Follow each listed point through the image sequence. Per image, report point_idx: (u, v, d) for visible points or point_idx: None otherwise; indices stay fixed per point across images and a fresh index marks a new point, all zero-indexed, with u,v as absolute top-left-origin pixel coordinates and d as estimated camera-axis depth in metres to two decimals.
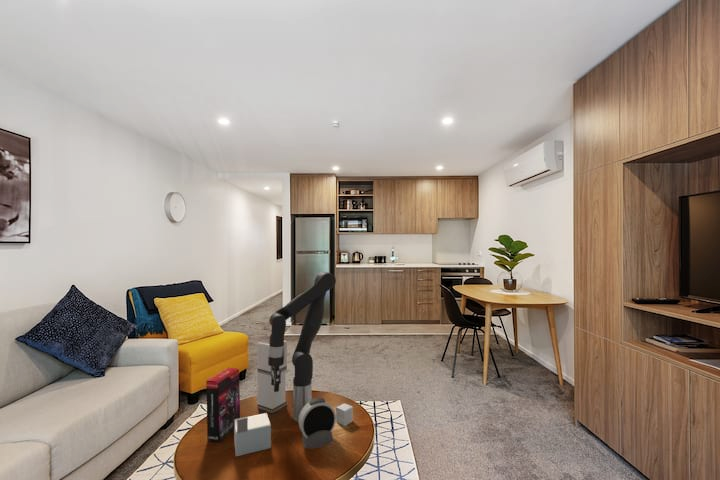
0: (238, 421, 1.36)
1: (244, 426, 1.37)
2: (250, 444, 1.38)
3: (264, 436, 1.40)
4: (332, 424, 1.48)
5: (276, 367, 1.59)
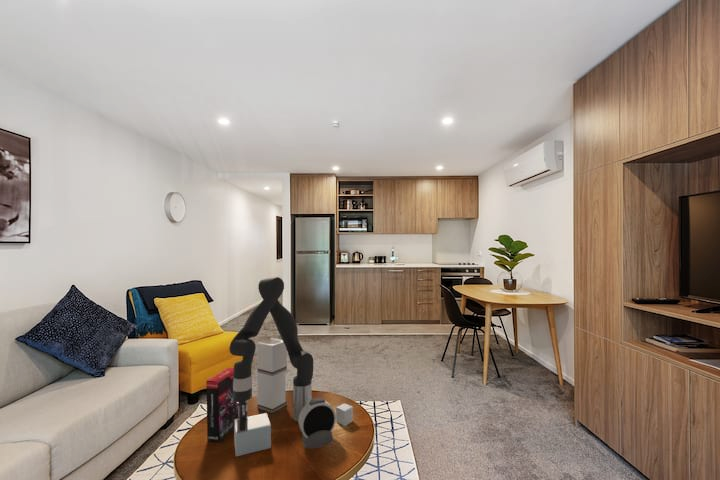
0: (238, 421, 1.36)
1: None
2: (250, 444, 1.38)
3: (264, 436, 1.40)
4: (332, 424, 1.48)
5: (242, 403, 1.34)
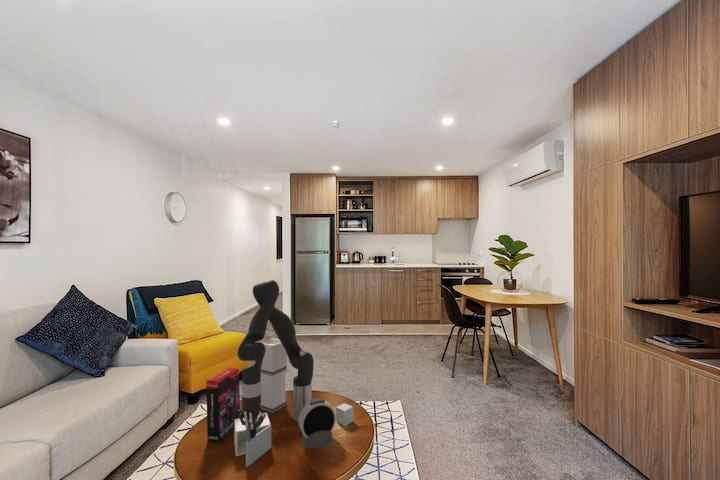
0: (249, 429, 1.30)
1: None
2: (257, 450, 1.34)
3: (267, 438, 1.39)
4: (332, 424, 1.48)
5: (258, 407, 1.30)
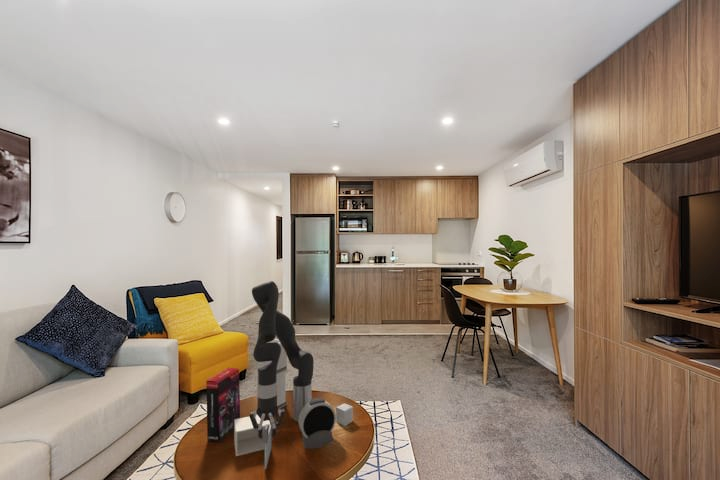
0: (267, 430, 1.29)
1: None
2: (268, 450, 1.33)
3: (270, 438, 1.39)
4: (332, 424, 1.48)
5: (276, 406, 1.31)
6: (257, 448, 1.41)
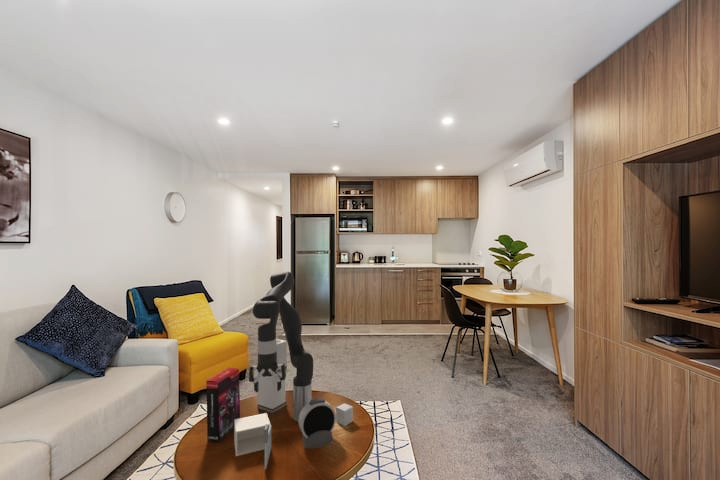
0: (267, 430, 1.29)
1: None
2: (268, 450, 1.33)
3: (270, 438, 1.39)
4: (332, 424, 1.48)
5: (276, 362, 1.33)
6: (257, 448, 1.41)
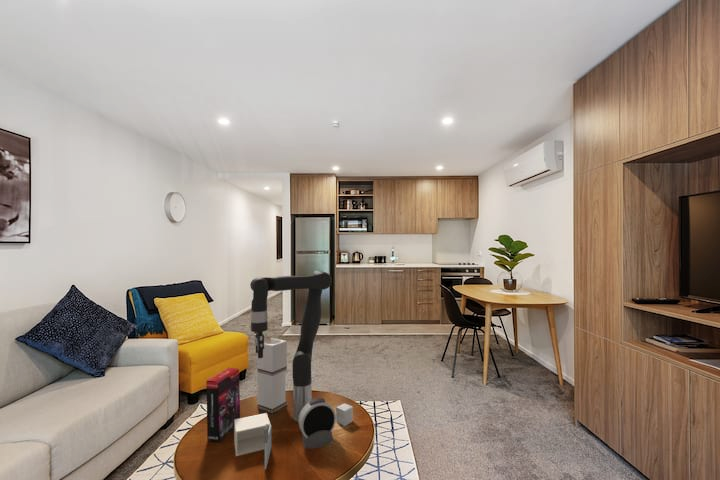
0: (267, 430, 1.29)
1: None
2: (268, 450, 1.33)
3: (270, 438, 1.39)
4: (332, 424, 1.48)
5: (259, 333, 1.51)
6: (257, 448, 1.41)
